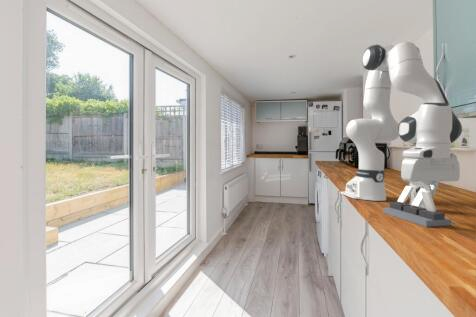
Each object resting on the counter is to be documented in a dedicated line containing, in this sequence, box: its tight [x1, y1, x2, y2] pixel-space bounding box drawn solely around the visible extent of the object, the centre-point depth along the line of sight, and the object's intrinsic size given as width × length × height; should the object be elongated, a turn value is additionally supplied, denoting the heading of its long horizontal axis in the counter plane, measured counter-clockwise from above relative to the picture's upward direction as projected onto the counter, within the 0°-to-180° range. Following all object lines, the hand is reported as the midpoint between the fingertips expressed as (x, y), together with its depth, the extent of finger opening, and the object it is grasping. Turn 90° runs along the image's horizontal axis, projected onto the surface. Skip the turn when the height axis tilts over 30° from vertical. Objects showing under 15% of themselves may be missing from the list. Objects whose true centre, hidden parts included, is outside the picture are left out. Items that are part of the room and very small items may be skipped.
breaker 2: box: [412, 188, 425, 208], centre depth 88 cm, size 2×1×7 cm
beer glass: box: [407, 181, 426, 209], centre depth 102 cm, size 7×7×15 cm
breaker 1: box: [397, 185, 413, 204], centre depth 93 cm, size 2×1×7 cm
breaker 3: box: [421, 190, 437, 212], centre depth 81 cm, size 2×1×7 cm, turn 13°
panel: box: [382, 201, 452, 228], centre depth 87 cm, size 17×10×4 cm, turn 13°
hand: (429, 195), depth 81 cm, fingers closed
